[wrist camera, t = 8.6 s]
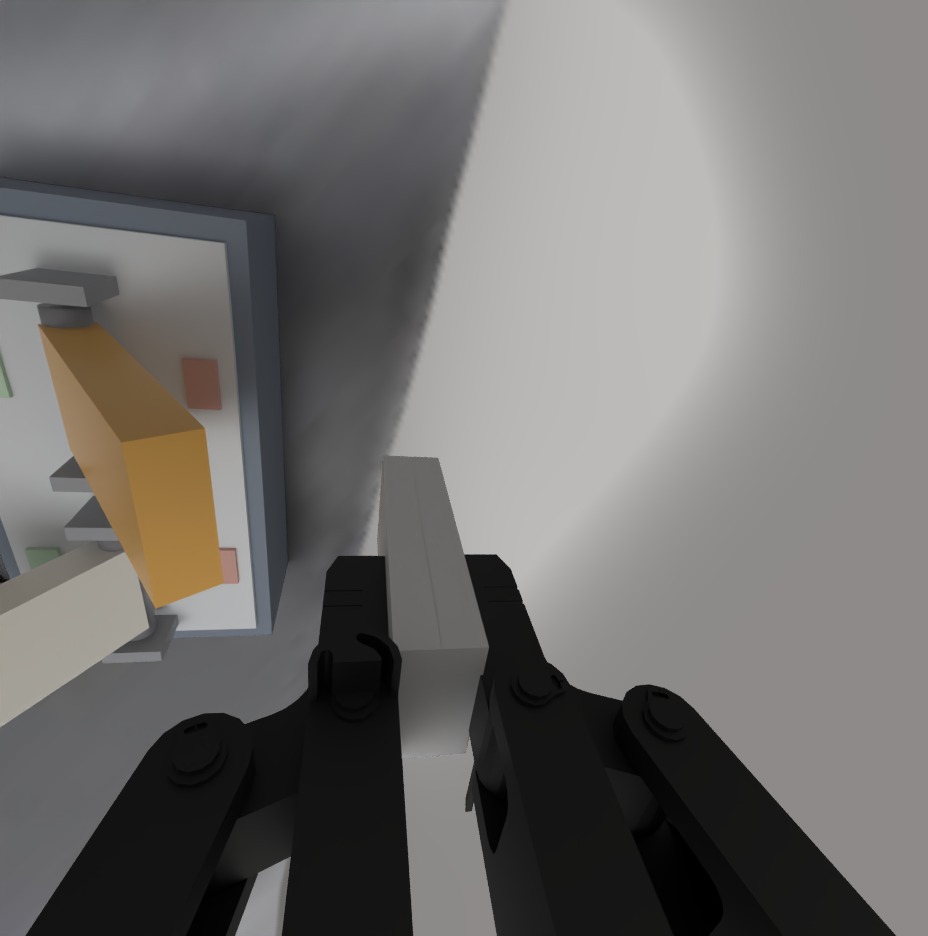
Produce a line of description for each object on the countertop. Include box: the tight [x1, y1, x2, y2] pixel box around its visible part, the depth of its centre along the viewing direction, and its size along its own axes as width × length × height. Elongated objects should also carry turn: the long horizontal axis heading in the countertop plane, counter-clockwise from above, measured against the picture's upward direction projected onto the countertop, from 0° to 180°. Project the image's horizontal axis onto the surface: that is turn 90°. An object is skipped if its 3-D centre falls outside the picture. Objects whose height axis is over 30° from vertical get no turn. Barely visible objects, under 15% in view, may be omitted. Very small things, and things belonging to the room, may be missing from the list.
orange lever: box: [37, 303, 223, 609], centre depth 15 cm, size 6×2×11 cm
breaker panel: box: [0, 177, 288, 663], centre depth 22 cm, size 20×11×9 cm, turn 172°
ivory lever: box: [0, 541, 157, 727], centre depth 18 cm, size 6×2×11 cm
